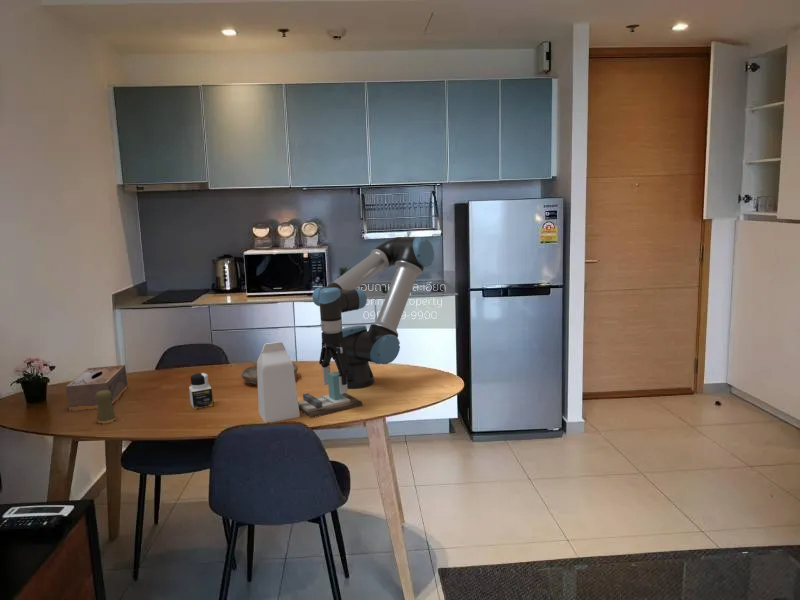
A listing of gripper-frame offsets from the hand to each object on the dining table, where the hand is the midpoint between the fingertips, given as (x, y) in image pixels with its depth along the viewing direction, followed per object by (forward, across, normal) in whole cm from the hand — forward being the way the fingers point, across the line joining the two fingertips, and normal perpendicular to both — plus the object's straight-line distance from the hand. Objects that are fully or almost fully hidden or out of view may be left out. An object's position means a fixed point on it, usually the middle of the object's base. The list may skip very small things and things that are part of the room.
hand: (335, 388), depth 221 cm
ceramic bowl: (+6, -46, -8) cm, 47 cm away
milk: (+7, -3, -21) cm, 22 cm away
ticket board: (+6, 0, -3) cm, 7 cm away
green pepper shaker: (+7, -37, -72) cm, 81 cm away
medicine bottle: (+7, -32, -40) cm, 52 cm away
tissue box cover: (+7, -67, -71) cm, 98 cm away
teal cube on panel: (+5, 0, 0) cm, 5 cm away
